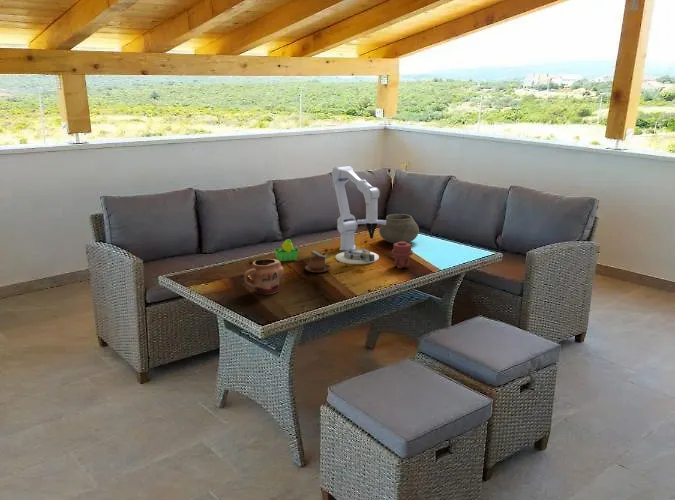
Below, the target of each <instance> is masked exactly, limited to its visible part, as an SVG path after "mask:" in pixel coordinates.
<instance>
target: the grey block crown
mask: <svg viewBox="0 0 675 500" xmlns="http://www.w3.org/2000/svg"><path fill="white" fill-rule="evenodd" d="M353 250H362V251H363V252H362V254H361V255H356V254H351V251H353ZM343 252H344V257H345V258H348V259H352V258H353V259H358V260H360V259H362V260H364V261H366V262H369V261H370V254H369V253H370V252H371V251H370V250H368V249H365V248H363V249H362V248H355V249H349V250H344V251H343Z"/></svg>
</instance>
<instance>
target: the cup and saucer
mask: <svg viewBox="0 0 675 500" xmlns="http://www.w3.org/2000/svg"><path fill="white" fill-rule="evenodd" d="M304 268H305V270H306V271H307V272H310V273H316V274H317V273H325V272H327V271H329V270H330V269H331V265H329V264H328V263H326V258H325V257H322V256H317V255H316V256H311V257H310V258H309V264H307V265H305V267H304Z"/></svg>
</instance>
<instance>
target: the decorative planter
mask: <svg viewBox="0 0 675 500" xmlns="http://www.w3.org/2000/svg"><path fill="white" fill-rule="evenodd" d="M284 270H285V269H284V267H283V266H282V263H281V261H279V260H278V259H277V258H276V259H275V258H263V259H257V260H254V261H253V262H252V264H251V268H250V269H248V270H247V271H245V272H244V275H243V281H244V282H245V283H246V284H247V285H248V286H250V287H253V288H254V291H255V292H256V294H259V295H266V296H267V295H273V294H275V293H278V292H279V291H280V279H281V278H282V276H283V275H284ZM248 277H250V279H251V282H250V281H249V280H248Z"/></svg>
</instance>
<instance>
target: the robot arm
mask: <svg viewBox="0 0 675 500" xmlns="http://www.w3.org/2000/svg"><path fill="white" fill-rule="evenodd" d="M330 174H331V177H332V178H331V179H332V182H333V183H332V184H333V185H334V191H335V196H336V200H337V203H338V204H337V205H338V210H339V215H340V216H339V217H338V218H337V220H336V222H337V225H336V226H337V227H336V228H337V230H338V232H339V234H340V247H339V249H338V250H339V251H346V250H349V249H356V244H355V233H356V231H357V229H358V225H365V227H366V229H367V231H368V234H369V239H371V240H372V239H373V238H374V235H375V234H374V233H375V231H376V228H377V226H378V225H382V224H384V225H386V220H385V219H378V210H379V209H378V202H379V201H378V200H379V198H380V197H381V191H380V189H379V188H378V187H376V186H375V187H374V186H372V185H371V184H370V183H369V182H368V181H367V180H366V179H361V178H360V177H359V175H358V174H356V173H355V171H354V168H353V167H352V166H350V165H346V166H335V167H333V168H332V171H331V173H330ZM348 181H351V182H352V183H354V185H356V189H357V190H358V191H359V192H361V193H362V194H363V197H364V202H365V218H364V219H357V220H356V217H355V215H353V214H351V210H350V205H349V201H348V197H347V190H346V187H345V186H346V183H347V182H348Z"/></svg>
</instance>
